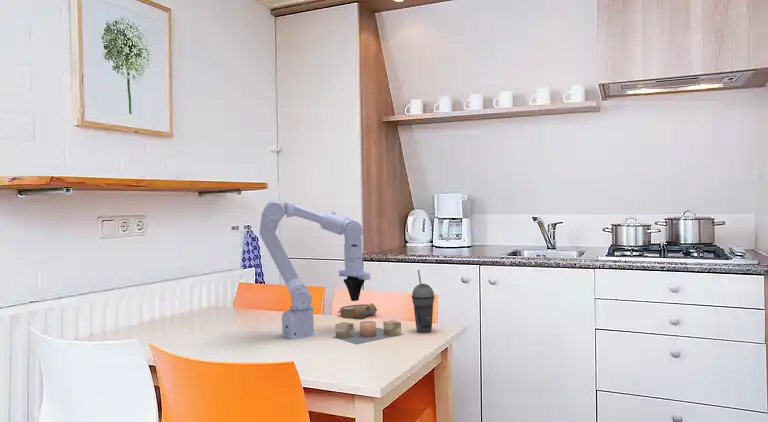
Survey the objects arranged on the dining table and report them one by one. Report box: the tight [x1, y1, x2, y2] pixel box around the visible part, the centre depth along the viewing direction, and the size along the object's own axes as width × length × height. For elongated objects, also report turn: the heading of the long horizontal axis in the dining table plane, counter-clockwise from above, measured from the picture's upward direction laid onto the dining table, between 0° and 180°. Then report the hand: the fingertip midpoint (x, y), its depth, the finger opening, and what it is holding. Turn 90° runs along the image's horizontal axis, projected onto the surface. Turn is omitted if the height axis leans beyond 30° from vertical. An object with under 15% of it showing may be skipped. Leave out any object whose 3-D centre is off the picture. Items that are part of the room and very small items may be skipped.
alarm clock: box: [337, 303, 378, 320], centre depth 217 cm, size 11×5×15 cm
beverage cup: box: [411, 269, 436, 334], centre depth 186 cm, size 7×7×20 cm
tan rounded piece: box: [359, 320, 377, 338], centre depth 183 cm, size 5×5×4 cm
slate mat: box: [332, 327, 404, 345], centre depth 183 cm, size 18×13×1 cm
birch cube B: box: [383, 319, 402, 338], centre depth 183 cm, size 4×4×4 cm
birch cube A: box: [334, 321, 355, 339], centre depth 182 cm, size 4×4×4 cm
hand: (354, 300), depth 190 cm, fingers closed
